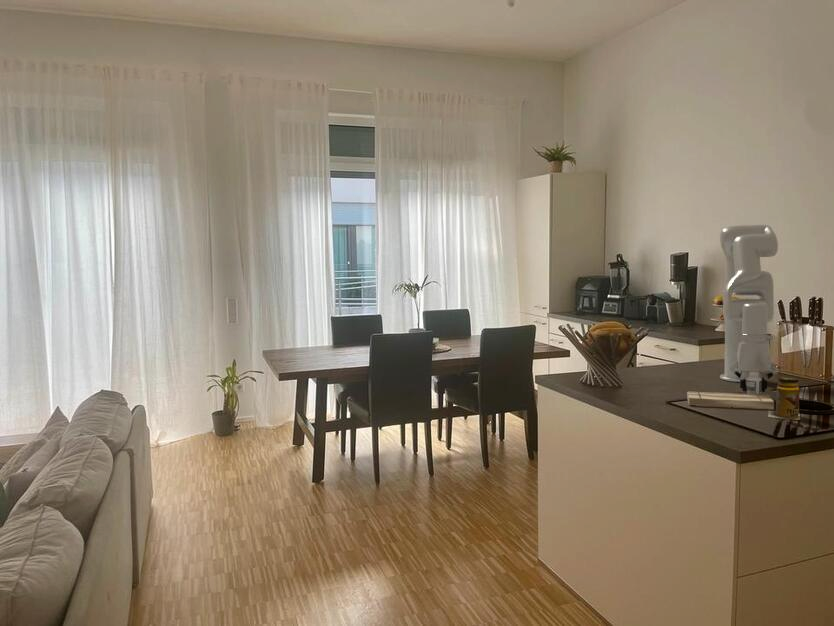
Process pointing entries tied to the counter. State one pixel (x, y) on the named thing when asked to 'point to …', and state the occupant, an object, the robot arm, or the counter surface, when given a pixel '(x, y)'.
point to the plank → (730, 400)
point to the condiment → (787, 399)
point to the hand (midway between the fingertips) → (753, 390)
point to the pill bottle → (753, 383)
